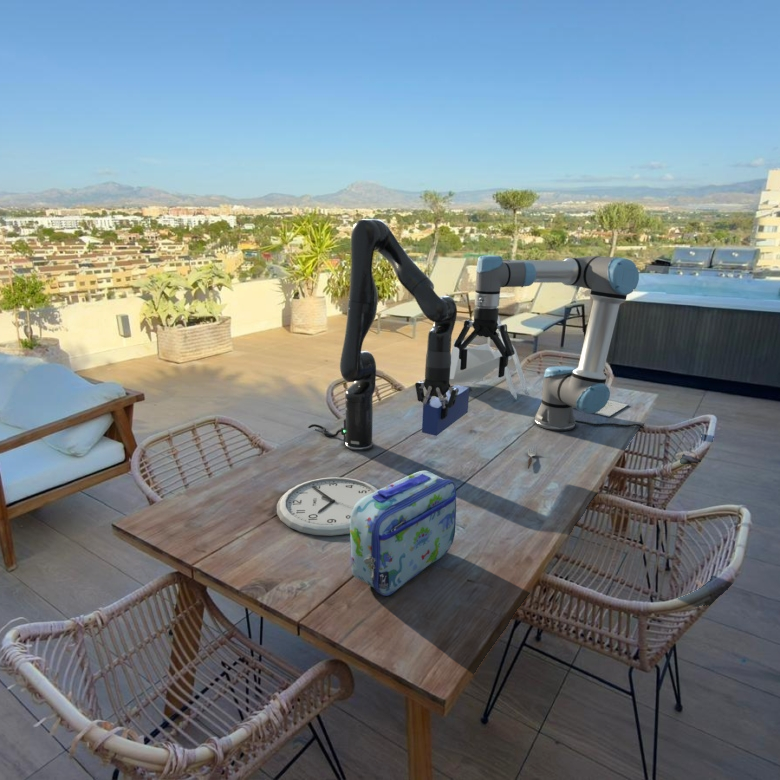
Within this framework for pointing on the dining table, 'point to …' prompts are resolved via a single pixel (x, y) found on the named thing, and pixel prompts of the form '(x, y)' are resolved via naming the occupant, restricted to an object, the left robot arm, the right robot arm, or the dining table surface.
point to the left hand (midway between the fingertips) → (434, 416)
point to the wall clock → (322, 505)
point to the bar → (433, 414)
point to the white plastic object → (483, 365)
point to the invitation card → (611, 408)
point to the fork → (531, 456)
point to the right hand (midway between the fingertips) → (481, 372)
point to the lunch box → (402, 530)
